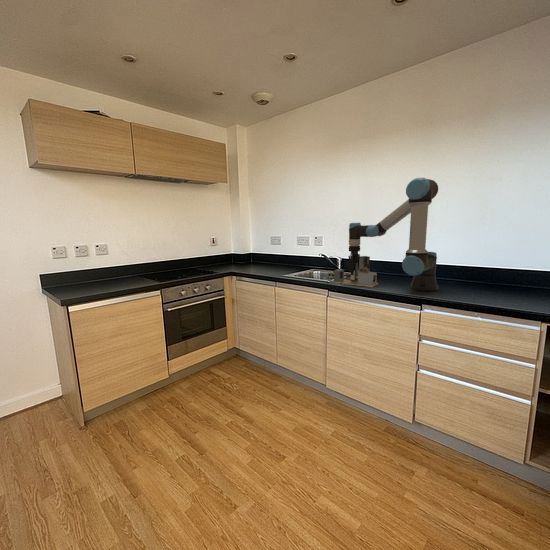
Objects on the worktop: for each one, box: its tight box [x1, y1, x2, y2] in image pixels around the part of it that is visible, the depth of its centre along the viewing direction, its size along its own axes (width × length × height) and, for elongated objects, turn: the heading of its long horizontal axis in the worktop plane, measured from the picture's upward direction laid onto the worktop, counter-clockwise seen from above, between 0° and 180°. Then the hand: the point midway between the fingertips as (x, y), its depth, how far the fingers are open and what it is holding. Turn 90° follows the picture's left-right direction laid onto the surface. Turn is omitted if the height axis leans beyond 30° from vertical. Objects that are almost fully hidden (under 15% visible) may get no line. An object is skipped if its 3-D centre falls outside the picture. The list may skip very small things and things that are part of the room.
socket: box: [333, 268, 345, 282], centre depth 206 cm, size 4×8×8 cm, turn 140°
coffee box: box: [358, 255, 371, 273], centre depth 222 cm, size 9×6×16 cm
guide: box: [331, 271, 380, 288], centre depth 199 cm, size 30×10×8 cm, turn 50°
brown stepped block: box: [346, 263, 358, 282], centre depth 196 cm, size 18×4×13 cm, turn 50°
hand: (354, 279), depth 199 cm, fingers closed on brown stepped block, 4 cm apart
